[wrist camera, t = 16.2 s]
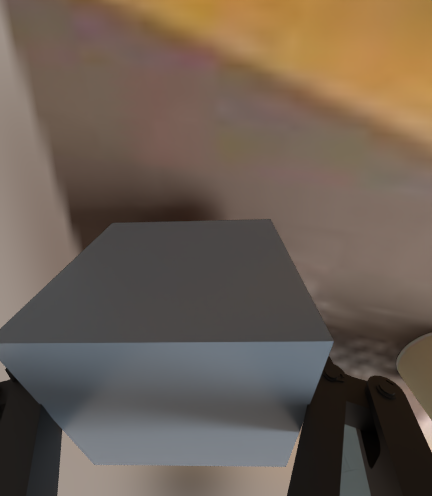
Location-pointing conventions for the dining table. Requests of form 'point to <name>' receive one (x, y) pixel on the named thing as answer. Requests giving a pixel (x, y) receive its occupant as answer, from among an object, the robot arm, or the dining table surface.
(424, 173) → the dining table surface
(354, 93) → the dining table surface
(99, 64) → the dining table surface
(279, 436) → the slate blue cube
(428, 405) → the coffee cup
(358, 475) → the cup
